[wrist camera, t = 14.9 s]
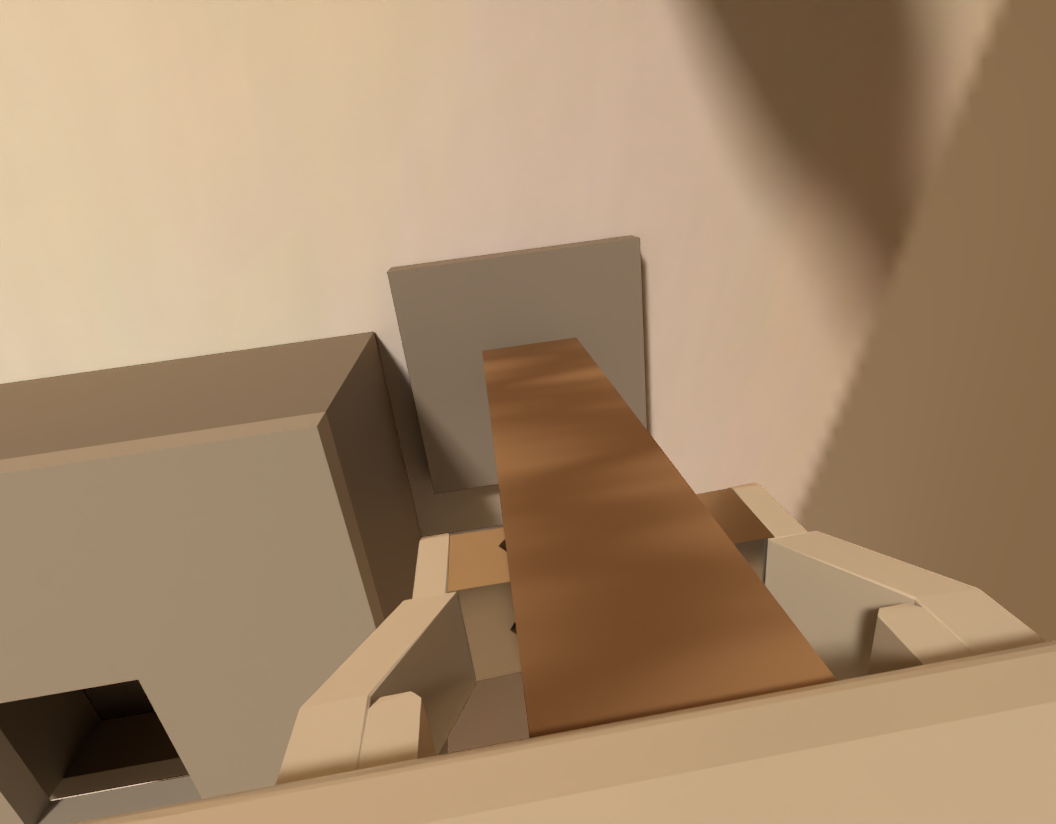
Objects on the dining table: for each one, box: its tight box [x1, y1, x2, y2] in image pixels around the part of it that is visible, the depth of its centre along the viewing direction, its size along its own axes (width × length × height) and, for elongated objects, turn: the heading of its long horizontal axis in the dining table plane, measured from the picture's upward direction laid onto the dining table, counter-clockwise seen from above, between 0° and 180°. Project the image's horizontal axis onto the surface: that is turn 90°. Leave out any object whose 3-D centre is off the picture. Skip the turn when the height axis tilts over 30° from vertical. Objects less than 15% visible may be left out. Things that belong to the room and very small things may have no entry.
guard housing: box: [0, 332, 448, 824], centre depth 18 cm, size 16×16×8 cm
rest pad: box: [387, 236, 647, 494], centre depth 19 cm, size 8×8×1 cm
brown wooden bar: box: [482, 337, 838, 738], centre depth 11 cm, size 3×3×16 cm
